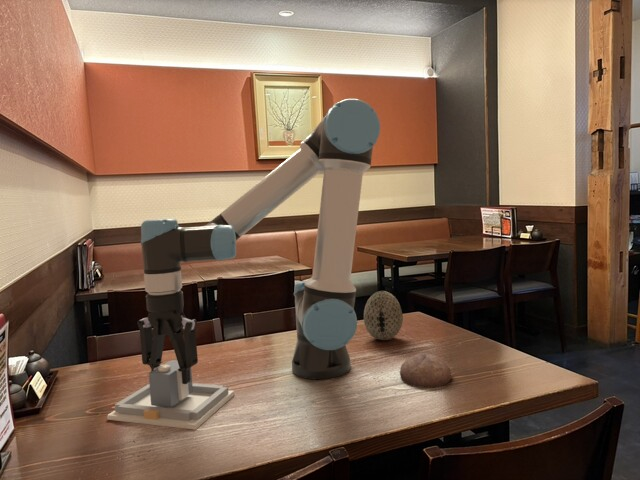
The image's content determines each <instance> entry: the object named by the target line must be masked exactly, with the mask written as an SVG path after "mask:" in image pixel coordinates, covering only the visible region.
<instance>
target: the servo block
mask: <svg viewBox="0 0 640 480" xmlns="http://www.w3.org/2000/svg"><path fill="white" fill-rule="evenodd" d="M178 369H179V364H178V361H177V359H171V360H169V361H167V362H166V363H163V365H162V366H159V367H158V368H157V369H155V370H153V371H151V370H150V372H149V373H148V381H149V383H148V384H150V397H151V405H153V406H163V407H173V406H174V405H175V404H177V403H178V402H179V401H181V400H179V396H178V383H177V370H178ZM192 371H193V370H192V367H191V368H190V377H191V380H190V382H189V383H188V389H189V394H190V393H192V392H193V386H192V383H193V376H192V375H193V374H192Z"/></svg>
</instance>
